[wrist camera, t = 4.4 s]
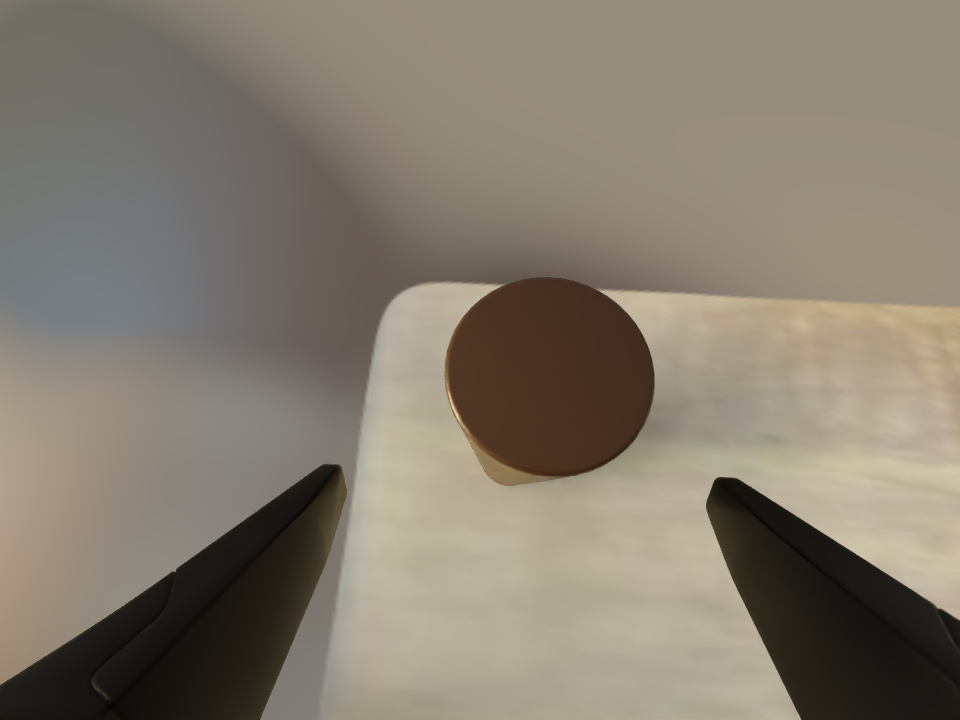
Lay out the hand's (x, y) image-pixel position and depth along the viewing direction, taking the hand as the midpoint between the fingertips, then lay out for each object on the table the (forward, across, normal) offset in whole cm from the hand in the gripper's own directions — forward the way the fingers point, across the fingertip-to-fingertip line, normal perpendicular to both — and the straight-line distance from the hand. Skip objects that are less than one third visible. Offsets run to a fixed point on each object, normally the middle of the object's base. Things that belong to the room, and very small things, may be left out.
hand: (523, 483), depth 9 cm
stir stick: (+8, 0, +6) cm, 9 cm away
